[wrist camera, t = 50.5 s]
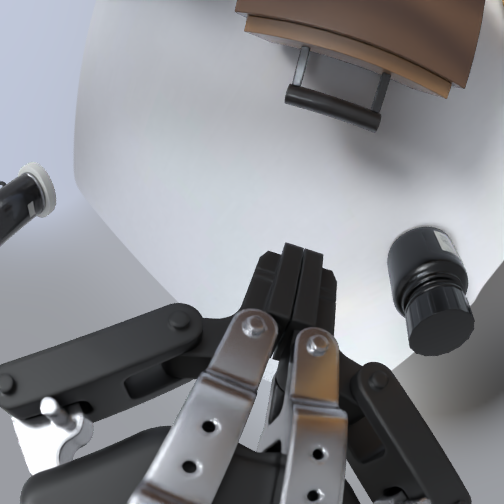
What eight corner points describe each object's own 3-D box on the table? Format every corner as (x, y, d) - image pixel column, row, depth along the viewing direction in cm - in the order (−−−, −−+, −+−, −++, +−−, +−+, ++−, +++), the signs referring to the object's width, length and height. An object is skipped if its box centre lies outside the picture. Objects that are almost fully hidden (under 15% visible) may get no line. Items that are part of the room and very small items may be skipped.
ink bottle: (452, 279, 31) (475, 354, 21) (391, 292, 35) (399, 370, 25) (451, 214, 26) (491, 286, 17) (380, 229, 30) (394, 308, 21)
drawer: (397, 133, 23) (423, 162, 16) (260, 88, 24) (229, 98, 17) (441, -30, 11) (477, -56, 4) (301, -75, 12) (286, -118, 5)
